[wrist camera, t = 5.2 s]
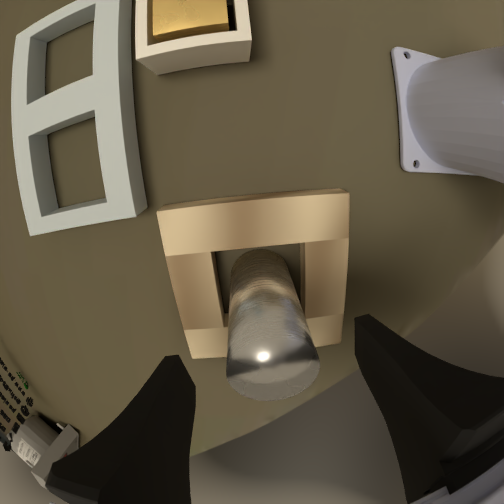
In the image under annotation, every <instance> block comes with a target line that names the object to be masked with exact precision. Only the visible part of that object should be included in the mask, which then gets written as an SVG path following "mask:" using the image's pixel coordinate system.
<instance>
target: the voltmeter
mask: <svg viewBox="0 0 504 504" xmlns="http://www.w3.org/2000/svg"><path fill="white" fill-rule="evenodd" d="M0 364H1V365H3V366H4V365H5V364H4V362H3V361H2V360H1V358H0ZM3 366H2V367H3ZM4 370H5V371H6V370H7V367H6V366H5V367H4ZM7 372H8V371H7ZM16 373H17V372H16ZM17 374H18V373H17ZM19 374H20V372H19ZM19 374H18V376H19V377H20V375H21V374H20V375H19ZM8 376H9V377H11V376H12V374H11V373H8ZM0 377H1V375H0ZM21 377H22V375H21ZM21 377H20V378H21ZM22 378H23V380H24V377H22ZM22 378H21V379H22ZM14 379H15V377H13V376H12V377H11V380H12V381H13V380H14ZM1 380H2V381H1ZM0 382H3V384H2V385H3V386H4V388H5V389H6V390H8V389H9V390H8V391H10V393H11V391H12V390H11V389H10V388H9V386H8V385H7V384H6V382H5V381H3V379H2V378H0ZM22 382H23V381H22ZM4 383H5V384H6V385H5V384H4ZM15 386H17V387H18V383H17V382H16V383H15ZM24 386H25V388H26V389H28V387H29V386H28V383H27V381H26V385H25V383H24ZM21 389H22V388H20V387H19V388H18V390H20V392H21ZM21 393H22V395H23V396H24V395H25V392H24V391H22V392H21ZM12 394H13V392H12V393H11V396H12V397H11V398H12V399H13V397H14V400H16V402H17V404H20V402H21V401H20V399H19V398H18V399H19V400H18V399H16V398H17V397H16V396H14V395H15V394H13V395H12ZM0 397H1V399H2V400H4V402H5V403H6V404H7V405H8V404H9V402H8V401H5V400H6V398H5V397H4V396H3V395H2V393H1V392H0ZM30 400H31V401H30ZM27 401H28V402H27ZM32 401H33V399H31V397H30V399H29V397H28V398H27V399H26V402H27V405H28V404H29V406H31V407H32V405H33V403H32ZM4 402H3V403H4ZM30 402H31V403H32V404H31V403H30ZM9 408H10V409H12V408H13V407H12V406H11V405H10V406H9ZM23 408H24V409H25V411H24V409H23ZM15 411H16V409H14V408H13V409H12V412H13V413H14V412H15ZM0 412H1V413H2V414H1V413H0V414H1V415H2V416H3V418H4V419H6V421H7V422H8V423H9V422H10V420H11V419H10V418H9V417H8V416H7V415H6V414H5V413H4V411H3V410H2V409H1V411H0ZM21 412H22V413H23V415H24V416H28V415H29V412H28V409H27V407H26V405H25V406H21ZM27 412H28V413H27ZM6 417H7V418H6ZM16 417H17V419H18V420H19V421H20V422H21V425H20V426H19V425H18V424H17V422H15V424H14V426H13V428H12V430H11V431H10V432H9V433H8V434H7V437H8V438H9V440H10V442H11V446H10V445H9V446H7V442H6V441H5V443H4V444H3V446H4V449H5V451H10V449H11V447H12V450H13V451H14V452H15V453H16V454H17V455H18V456H19V457H20V458H22V459H23V460H24V461H25V462H26V463H27V464H28V465H29V466H30V467H32V469H31V472H32V474H33V475H34V477H35V478H36V479H37V481H38V482H39V483H40V485H41V486H43V487H44V488H46V487H45V483H46V480H47V477H48V474H49V472H50V469H51V466H52V463H53V462H56V461H58V460H60V459H61V458H63V457H65V456H67V455H69V454H71V453H73V452H74V451H76V450H77V449H78V433H77V432H76V431H75V430H74V429H73V428H72V427H71V426H70V425H69V424H68V425H67V426H66V427H65V428H64V427H63V426H61V425H60V424H59V423H57V426H59V427H60V428H61V429H62V430H63V431H62V432H61V433H60V434H58V433H57V432H56V431H55V430H53V429H52V428H51V427H50V426H49V425H48V424H46V423H45V422H44V421H43V420H42V419H41V418H40V417H39V416H37V415H35V416H31V417H29V418H28V419H26V420H25V419H24V418H23V417H22V416H21V414H20V413H18V415H17V416H16ZM8 419H9V420H8ZM1 425H2V424H1V423H0V429H1V430H2V431H3V432H5V429H6V428H5V427H4V426H1ZM3 428H4V429H3ZM0 439H1V437H0ZM46 489H47V488H46ZM47 490H48V489H47Z"/></svg>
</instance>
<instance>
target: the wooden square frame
mask: <svg viewBox="0 0 504 504" xmlns="http://www.w3.org/2000/svg"><path fill="white" fill-rule="evenodd" d="M157 216H158V222H159V227H160V232H161V237H162V242H163V247H164V252H165V256H166V261H167V265H168V270H169V274H170V278H171V282H172V287H173V291H174V295H175V299H176V302H177V306H178V310H179V314H180V318H181V321H182V325H183V328H184V332H185V335H186V339H187V342H188V346H189V349H190V352H191V356H192V359H193V358H215V357H227V345H228V322H229V313H226V314H224V308H223V302H222V296H221V290H220V284H219V278H218V271H217V265H216V258H215V252H214V251H222V250H232V249H242V248H252V247H262V246H273V245H283V244H293V243H300V278H301V307H302V310H303V313H304V316H305V319H306V322H307V325H308V328H309V330H310V333H311V336H312V339H313V342H314V345H315V347H319V346H325V345H332V344H337V343H340V342H341V333H342V325H343V316H344V305H345V294H346V281H347V266H348V246H349V193H348V192H346V191H344V190H342V189H340V188H334V189H316V190H301V191H287V192H275V193H263V194H252V195H242V196H232V197H223V198H214V199H206V200H198V201H190V202H182V203H175V204H168V205H163V206H162V207H161V208H160V209H159V210H158V211H157Z"/></svg>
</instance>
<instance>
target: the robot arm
mask: <svg viewBox="0 0 504 504" xmlns="http://www.w3.org/2000/svg"><path fill="white" fill-rule="evenodd" d="M404 53H405V54H406V55H407V58H405V56H404ZM391 56H392V62H393V69H394V76H395V83H396V92H397V102H398V113H399V129H400V159H401V167H402V169H403V170H404V171H408V172H428V173H449V174H464V175H476V176H482V177H485V178H489V179H492V180H495V181H498V182H501V183H504V46H500V47H494V48H488V49H483V50H478V51H473V52H468V53H464V54H459V55H455V56H451V57H447V58H443V59H441V58H438V57H435V56H432V55H428V54H425V53H421V52H418V51H414V50H410V49H406V48H402V47H395V48H393V49H392V50H391ZM414 161H416V166H415V167H414V166H413V162H414ZM355 356H356V359H357V362H358V364H359V367H360V369H361V372H362V375H363V377H364V379H365V381H366V383H367V385H368V387H369V388H370V390H371V392H372V394H373V396H374V398H375V400H376V402H377V404H378V406H379V408H380V410H381V412H382V414H383V416H384V419H385V421H386V424H387V427H388V430H389V432H390V435H391V438H392V441H393V445H394V448H395V452H396V455H397V459H398V462H399V466H400V470H401V474H402V479H403V484H404V489H405V495H406V500H407V503H408V504H504V378H501V377H494V376H489V375H485V374H481V373H477V372H473V371H470V370H466V369H464V368H460V367H458V366H455V365H452V364H450V363H448V362H445V361H443V360H441V359H439V358H437V357H434V356H432V355H430V354H428V353H426V352H425V351H423V350H421V349H420V348H418V347H416V346H414V345H413V344H411V343H410V342H408V341H407V340H405V339H404V338H402V337H400V336H399V335H397V334H396V333H395V332H393V331H392V330H390V329H389V328H388V327H386V326H385V325H383V324H382V323H381V322H379V321H378V320H377V319H375V318H374V317H372V316H371V315H369V314H366V315H363V316H359V317H356V318H355ZM195 407H196V386H195V384H194V383H193V381H192V379H191V377H190V375H189V374H188V372H187V370H186V368H185V366H184V364H183V362H182V360H181V359H180V357H179V355H172V356H165V357H164V359H163V360H162V361H161V363H160V364H159V365H158V367H157V368H156V369H155V371H154V372H153V374H152V375H151V376H150V378H149V379H148V380H147V382H146V383H145V384H144V386H143V387H142V388H141V390H140V391H139V392H138V394H137V395H136V396H135V397H134V398H133V400H132V401H131V402H130V403H129V404H128V406H127V407H126V408H125V409H124V410H123V411H122V413H121V414H120V415H119V416H118V417H117V418H116V419H115V420H114V421H113V422H112V423H111V424H110V425H109V426H108V427H106V428H105V429H104V430H103V431H102V432H100V433H99V434H98V435H97V436H96V437H94V438H93V439H92V440H91V441H89V442H88V443H86V444H85V445H84V446H82V447H81V448H79V449H77V450H76V451H74V452H73V453H71V454H69V455H67V456H65V457H63V458H61V459H60V460H58V461H56V462H53V463H52V466H51V469H50V472H49V474H48V477H47V480H46V483H45V487H46V488H47V489H48V490H49V491H50V492H51V493H53V494H54V495H56V496H58V497H59V498H61V499H62V500H64V501H66V502H68V503H69V504H191V497H190V480H189V454H190V445H191V437H192V430H193V423H194V415H195ZM49 504H55V503H53V502H50V503H49Z"/></svg>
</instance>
